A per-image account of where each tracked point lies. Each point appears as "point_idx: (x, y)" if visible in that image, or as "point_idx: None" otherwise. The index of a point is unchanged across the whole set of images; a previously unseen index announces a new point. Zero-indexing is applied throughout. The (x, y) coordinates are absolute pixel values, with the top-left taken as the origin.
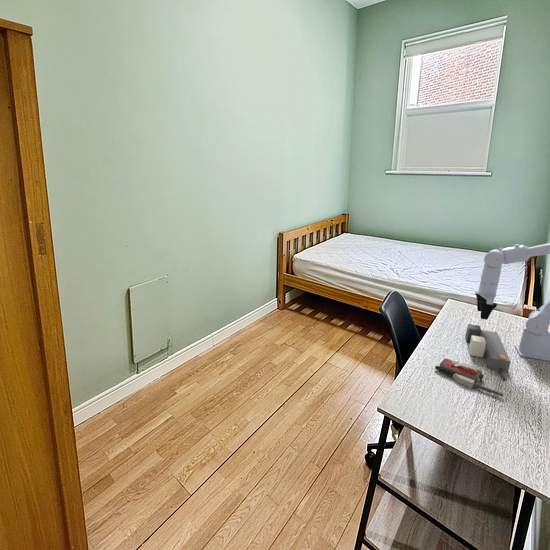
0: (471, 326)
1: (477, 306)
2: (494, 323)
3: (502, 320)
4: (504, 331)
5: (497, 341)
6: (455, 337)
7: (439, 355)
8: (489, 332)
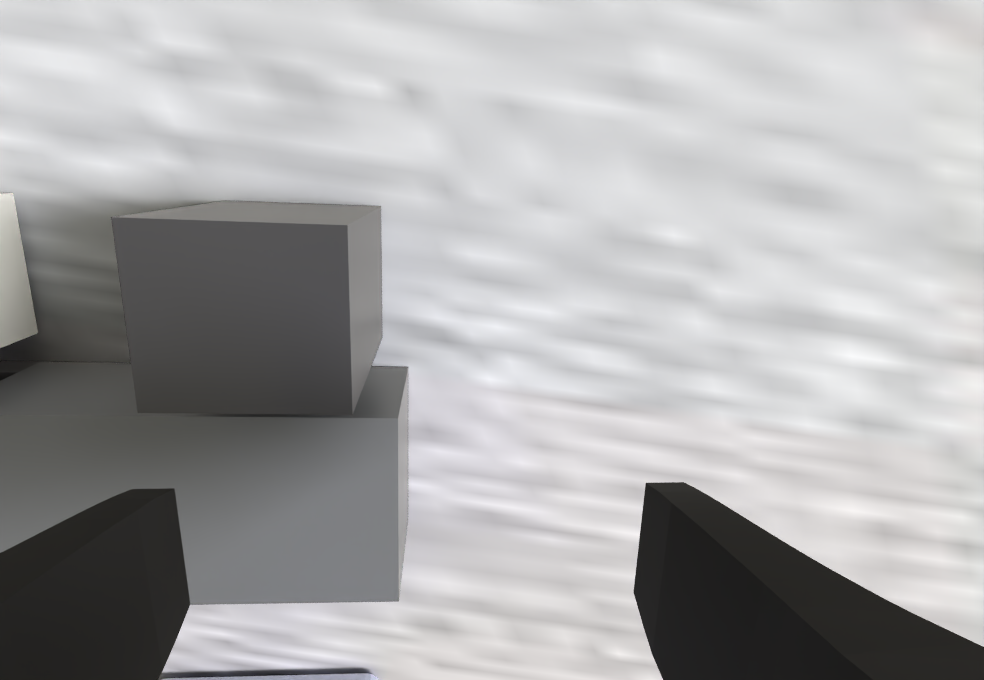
0: (245, 270)
1: (707, 528)
2: (891, 583)
3: None
4: None
5: None
6: (334, 71)
7: None
8: (350, 512)
